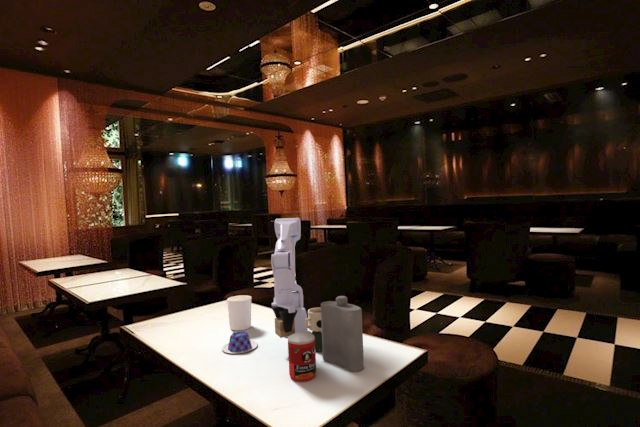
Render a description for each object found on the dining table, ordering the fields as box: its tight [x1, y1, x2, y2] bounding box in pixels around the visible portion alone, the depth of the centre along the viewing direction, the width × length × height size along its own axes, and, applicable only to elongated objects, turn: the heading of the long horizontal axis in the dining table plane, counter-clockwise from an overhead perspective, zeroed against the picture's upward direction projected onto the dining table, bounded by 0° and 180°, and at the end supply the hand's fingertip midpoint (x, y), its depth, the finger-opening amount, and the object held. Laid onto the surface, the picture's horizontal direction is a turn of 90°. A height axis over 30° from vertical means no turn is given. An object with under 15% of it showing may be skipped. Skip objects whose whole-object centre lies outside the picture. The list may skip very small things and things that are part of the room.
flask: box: [320, 295, 365, 373], centre depth 109 cm, size 15×6×20 cm, turn 44°
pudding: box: [221, 330, 258, 354], centre depth 125 cm, size 12×12×5 cm
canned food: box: [287, 332, 317, 383], centre depth 102 cm, size 8×8×11 cm
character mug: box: [305, 306, 323, 351], centre depth 121 cm, size 11×7×13 cm, turn 128°
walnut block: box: [274, 317, 295, 339], centre depth 119 cm, size 5×5×5 cm
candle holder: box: [226, 294, 253, 332], centre depth 147 cm, size 10×10×12 cm
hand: (284, 329), depth 119 cm, fingers closed on walnut block, 5 cm apart
